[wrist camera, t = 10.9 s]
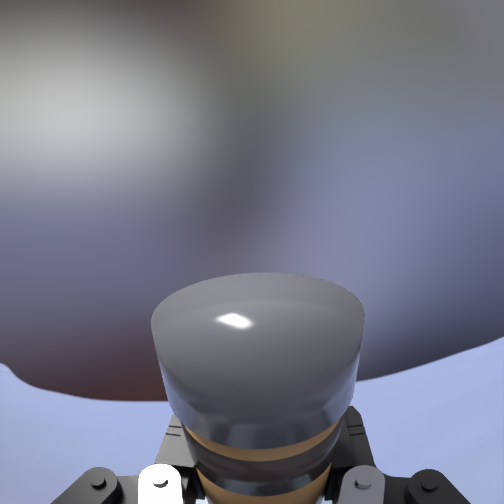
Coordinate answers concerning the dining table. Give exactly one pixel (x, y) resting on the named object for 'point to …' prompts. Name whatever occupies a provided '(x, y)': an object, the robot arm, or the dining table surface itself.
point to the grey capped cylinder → (260, 381)
